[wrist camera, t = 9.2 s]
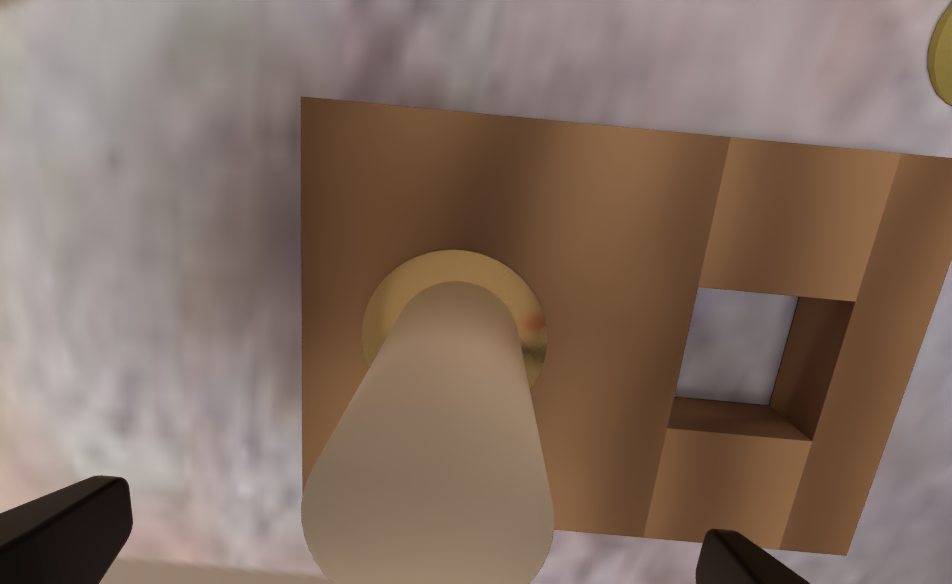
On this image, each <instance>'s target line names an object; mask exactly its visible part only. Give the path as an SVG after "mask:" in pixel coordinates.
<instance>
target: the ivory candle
mask: <svg viewBox="0 0 952 584" xmlns="http://www.w3.org/2000/svg"><path fill="white" fill-rule="evenodd" d="M301 516H302V526H303V531H304V536H305V539H306V542H307V545H308V548H309V550H310V552H311V554H312V556H313V558H314V560H315V562H316V563H317V565H318V566H319V567H320V569H321V570H322V572H323V573H324V574H325V575H326V576H327V578H328V579H329V580H330V581H331V582H332V583H333V584H529V583H530V582H531V581H532V580H533V579H534V577H535V576H536V575H537V573H538V572H539V570H540V569H541V567H542V566H543V564H544V562H545V559H546V557H547V555H548V553H549V550H550V546H551V543H552V540H553V532H554V509H553V503H552V498H551V493H550V488H549V483H548V478H547V473H546V468H545V463H544V458H543V453H542V448H541V443H540V438H539V433H538V428H537V423H536V418H535V413H534V409H533V404H532V399H531V394H530V389H529V384H528V379H527V374H526V369H525V364H524V359H523V354H522V349H521V344H520V339H519V334H518V329H517V325H516V322H515V319H514V317H513V315H512V313H511V311H510V310H509V308H508V307H507V305H506V304H505V303H504V302H503V301H502V300H501V299H500V298H499V297H498V296H497V295H496V294H494V293H493V292H491V291H490V290H488V289H486V288H484V287H482V286H479V285H476V284H473V283H469V282H463V281H448V282H442V283H438V284H435V285H432V286H430V287H428V288H426V289H424V290H422V291H421V292H419V293H418V294H416V295H415V296H414V297H413V298H412V299H411V300H410V301H409V302H408V303H407V304H406V306H405V307H404V309H403V310H402V312H401V314H400V315H399V317H398V319H397V321H396V322H395V324H394V326H393V328H392V330H391V331H390V333H389V335H388V337H387V338H386V340H385V342H384V344H383V345H382V347H381V349H380V351H379V352H378V354H377V356H376V358H375V359H374V361H373V363H372V365H371V366H370V368H369V370H368V372H367V373H366V375H365V377H364V379H363V380H362V382H361V384H360V386H359V387H358V389H357V391H356V393H355V394H354V396H353V398H352V400H351V401H350V403H349V405H348V407H347V409H346V410H345V412H344V414H343V416H342V417H341V419H340V421H339V423H338V424H337V426H336V428H335V430H334V431H333V433H332V435H331V437H330V438H329V440H328V442H327V444H326V445H325V447H324V449H323V451H322V452H321V454H320V456H319V458H318V459H317V461H316V463H315V465H314V466H313V468H312V470H311V473H310V475H309V477H308V479H307V482H306V485H305V489H304V492H303V497H302V506H301Z"/></svg>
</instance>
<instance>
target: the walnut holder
mask: <svg viewBox="0 0 952 584" xmlns="http://www.w3.org/2000/svg"><path fill="white" fill-rule="evenodd" d="M442 249H463V250H470V251H475V252H479V253H482V254H485V255H488V256H491V257H493V258H495V259H497V260H499V261H501V262H503V263H504V264H506V265H507V266H509V267H510V268H512V269H513V270H514V271H515V272H516V273H517V274H518V275H520V276H521V277H522V278H523V280H524V281H525V282H526V283H527V284H528V285H529V287H530V288H531V290H532V291H533V293H534V294H535V296H536V298H537V300H538V302H539V304H540V306H541V309H542V312H543V315H544V318H545V323H546V329H547V348H546V355H545V359H544V363H543V366H542V369H541V371H540V374H539V376H538V378H537V379H536V381H535V383H534V384H533V386H532V387H531V389H530V394H531V399H532V404H533V409H534V413H535V418H536V423H537V428H538V433H539V438H540V443H541V448H542V453H543V458H544V463H545V468H546V473H547V478H548V483H549V488H550V493H551V498H552V503H553V509H554V530H565V531H576V532H587V533H598V534H609V535H621V536H632V537H643V538H654V539H665V540H677V541H688V542H699V543H703V541H704V537H705V534H706V533H707V531H708V530H710V529H726V530H734V531H737V532H739V533H741V534H742V535H743V536H745V537H746V538H748V539H749V540H750V541H752V542H753V543H754V544H756V545H757V546H759V547H760V548H766V549H778V550H789V551H800V552H811V553H822V554H834V555H845V556H846V555H847V552H848V550H849V547H850V544H851V541H852V538H853V535H854V533H855V530H856V527H857V524H858V521H859V519H860V516H861V513H862V510H863V507H864V505H865V502H866V499H867V496H868V493H869V490H870V488H871V485H872V482H873V479H874V476H875V474H876V471H877V468H878V465H879V462H880V460H881V457H882V454H883V451H884V448H885V445H886V443H887V440H888V437H889V434H890V431H891V429H892V426H893V423H894V420H895V417H896V415H897V412H898V409H899V406H900V403H901V400H902V398H903V395H904V392H905V389H906V386H907V384H908V381H909V378H910V375H911V372H912V370H913V367H914V364H915V361H916V358H917V355H918V353H919V350H920V347H921V344H922V341H923V339H924V336H925V333H926V330H927V327H928V325H929V322H930V319H931V316H932V313H933V310H934V308H935V305H936V302H937V299H938V296H939V294H940V291H941V288H942V285H943V282H944V280H945V277H946V274H947V271H948V268H949V265H950V263H951V260H952V158H945V157H934V156H924V155H913V154H902V153H892V152H881V151H871V150H860V149H850V148H839V147H828V146H818V145H807V144H797V143H786V142H776V141H765V140H754V139H744V138H733V137H723V136H712V135H701V134H691V133H680V132H670V131H659V130H649V129H638V128H627V127H617V126H606V125H596V124H585V123H575V122H564V121H553V120H543V119H532V118H522V117H511V116H501V115H490V114H479V113H469V112H458V111H448V110H437V109H427V108H416V107H405V106H395V105H384V104H374V103H363V102H353V101H342V100H331V99H321V98H310V97H301V252H302V476H303V492H304V489H305V485H306V482H307V479H308V477H309V475H310V473H311V470H312V468H313V466H314V465H315V463H316V461H317V459H318V458H319V456H320V454H321V452H322V451H323V449H324V447H325V445H326V444H327V442H328V440H329V438H330V437H331V435H332V433H333V431H334V430H335V428H336V426H337V424H338V423H339V421H340V419H341V417H342V416H343V414H344V412H345V410H346V409H347V407H348V405H349V403H350V401H351V400H352V398H353V396H354V394H355V393H356V391H357V389H358V387H359V386H360V384H361V382H362V380H363V379H364V377H365V375H366V373H367V372H368V370H369V369H368V367H367V364H366V361H365V358H364V354H363V348H362V324H363V318H364V314H365V311H366V307H367V305H368V303H369V301H370V299H371V296H372V295H373V293H374V292H375V290H376V289H377V287H378V286H379V284H380V283H381V282H382V281H383V280H384V279H385V277H386V276H387V275H389V274H390V273H391V272H392V271H393V270H394V269H395V268H397V267H398V266H400V265H401V264H403V263H404V262H406V261H407V260H410V259H412V258H414V257H416V256H418V255H421V254H424V253H427V252H431V251H436V250H442ZM698 287H703V288H714V289H725V290H736V291H746V292H757V293H768V294H779V295H790V296H800V297H799V301H798V304H797V308H796V312H795V315H794V319H793V322H792V326H791V330H790V333H789V337H788V340H787V344H786V348H785V351H784V355H783V358H782V362H781V366H780V369H779V373H778V376H777V380H776V384H775V387H774V391H773V395H772V398H771V402H770V405H769V406H767V405H756V404H745V403H734V402H723V401H712V400H701V399H690V398H679V397H674V395H675V390H676V386H677V381H678V377H679V372H680V367H681V363H682V358H683V354H684V349H685V345H686V340H687V335H688V331H689V326H690V322H691V317H692V313H693V308H694V303H695V299H696V294H697V290H698Z"/></svg>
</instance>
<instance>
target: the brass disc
mask: <svg viewBox="0 0 952 584" xmlns="http://www.w3.org/2000/svg"><path fill="white" fill-rule="evenodd" d="M448 281H463V282H469V283H473V284H476V285H479V286H482V287H484V288H486V289H488V290H490V291H491V292H493V293H494V294H496V295H497V296H498V297H499V298H500V299H501V300H502V301H503V302H504V303H505V304H506V305H507V307H508V308H509V310H510V311H511V313H512V315H513V317H514V319H515V322H516V325H517V329H518V334H519V339H520V344H521V349H522V354H523V359H524V364H525V369H526V374H527V379H528V384H529V389H531V387H532V386H533V384H534V383H535V381H536V379H537V378H538V376H539V374H540V371H541V369H542V366H543V363H544V359H545V355H546V348H547V329H546V323H545V318H544V315H543V312H542V309H541V306H540V304H539V302H538V300H537V298H536V296H535V294H534V293H533V291H532V290H531V288H530V287H529V285H528V284H527V283H526V282H525V281H524V280H523V278H522V277H521V276H520V275H518V274H517V273H516V272H515V271H514V270H513V269H512V268H510V267H509V266H507V265H506V264H504V263H503V262H501V261H499V260H497V259H495V258H493V257H491V256H488V255H485V254H482V253H479V252H475V251H470V250H463V249H442V250H436V251H431V252H427V253H424V254H421V255H418V256H416V257H414V258H412V259H410V260H407V261H406V262H404V263H403V264H401V265H400V266H398V267H397V268H395V269H394V270H393V271H392V272H391V273H390V274H389V275H387V276H386V277H385V279H384V280H383V281H382V282H381V283H380V284H379V286H378V287H377V289H376V290H375V292H374V293H373V295H372V296H371V299H370V301H369V303H368V305H367V307H366V311H365V314H364V318H363V324H362V348H363V354H364V358H365V361H366V364H367V367H368V369H369V368H370V366H371V365H372V363H373V361H374V359H375V358H376V356H377V354H378V352H379V351H380V349H381V347H382V345H383V344H384V342H385V340H386V338H387V337H388V335H389V333H390V331H391V330H392V328H393V326H394V324H395V322H396V321H397V319H398V317H399V315H400V314H401V312H402V310H403V309H404V307H405V306H406V304H407V303H408V302H409V301H410V300H411V299H412V298H413V297H414V296H415V295H416V294H418V293H419V292H421V291H422V290H424V289H426V288H428V287H430V286H432V285H435V284H438V283H442V282H448Z"/></svg>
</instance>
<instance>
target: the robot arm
mask: <svg viewBox="0 0 952 584" xmlns="http://www.w3.org/2000/svg"><path fill="white" fill-rule="evenodd" d="M132 525H133V517H132V508H131V500H130V491H129V485H128V482H127V481H126V480H125V479H124V478H122V477H114V476H102V475H101V476H93V477H90V478H88V479H85V480H83V481H80V482H78V483H75V484H73V485H70V486H68V487H65V488H63V489H60V490H58V491H55V492H53V493H50V494H48V495H45V496H43V497H40V498H38V499H35V500H33V501H30V502H28V503H25V504H23V505H20V506H18V507H15V508H13V509H10V510H8V511H5V512H3V513H0V584H99V583H100V581H101V580H102V578H103V577H104V575H105V573H106V572H107V570H108V569H109V567H110V566H111V564H112V563H113V561H114V560H115V558H116V557H117V555H118V554H119V552H120V551H121V549H122V547H123V546H124V544H125V543H126V541H127V539H128V538H129V535H130V533H131V530H132ZM696 584H810V583H809V582H807V581H806V580H805V579H803V578H802V577H800V576H799V575H798V574H796V573H795V572H793V571H792V570H791V569H789V568H788V567H786V566H785V565H784V564H782V563H781V562H779V561H778V560H777V559H775V558H774V557H773V556H771V555H770V554H768V553H767V552H766V551H764V550H763V549H761V548H760V547H759V546H757V545H756V544H754V543H753V542H752V541H750V540H749V539H748V538H746V537H745V536H743V535H742V534H741V533H739V532H737V531H734V530H726V529H710V530H708V531H707V533H706V534H705V537H704V541H703V545H702V548H701V552H700V556H699V560H698V564H697V568H696Z"/></svg>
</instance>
